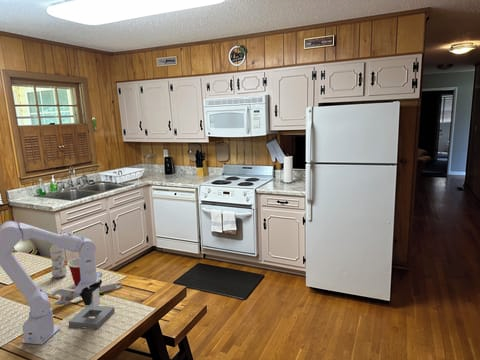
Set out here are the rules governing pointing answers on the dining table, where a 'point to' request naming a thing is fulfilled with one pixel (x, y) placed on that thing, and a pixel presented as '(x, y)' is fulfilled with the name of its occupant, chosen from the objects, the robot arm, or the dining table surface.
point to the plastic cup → (75, 270)
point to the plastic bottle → (57, 261)
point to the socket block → (96, 322)
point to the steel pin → (94, 298)
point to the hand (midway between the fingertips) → (91, 301)
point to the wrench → (73, 295)
